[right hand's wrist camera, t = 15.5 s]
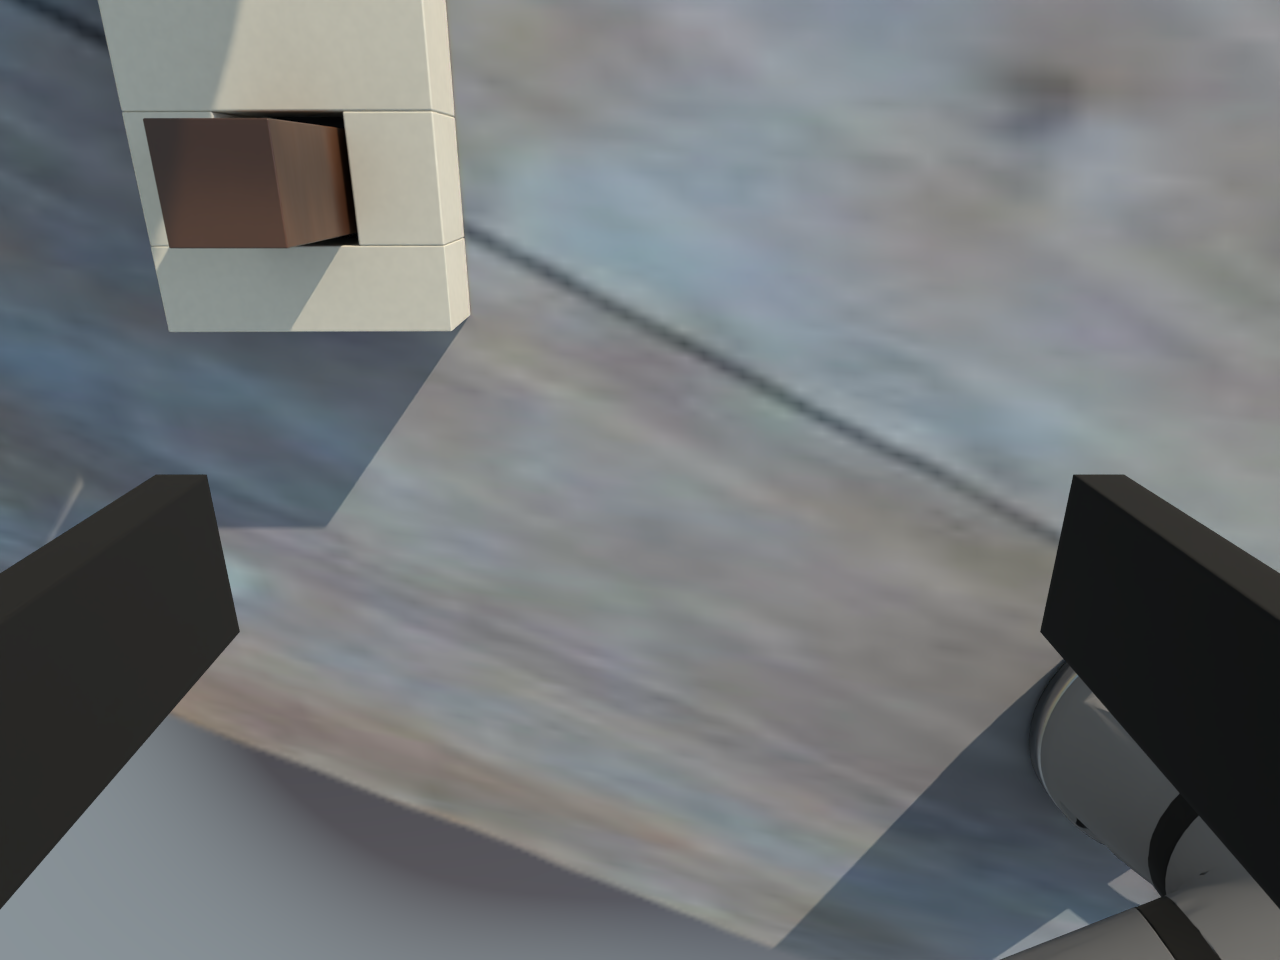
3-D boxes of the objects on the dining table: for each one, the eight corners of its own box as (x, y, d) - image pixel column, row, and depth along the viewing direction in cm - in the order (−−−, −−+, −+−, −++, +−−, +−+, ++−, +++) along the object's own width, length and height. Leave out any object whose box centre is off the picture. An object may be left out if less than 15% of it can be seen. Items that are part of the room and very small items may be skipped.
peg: (378, 227, 36) (287, 248, 27) (290, 228, 36) (168, 248, 27) (367, 131, 35) (267, 117, 25) (275, 131, 35) (141, 118, 25)
